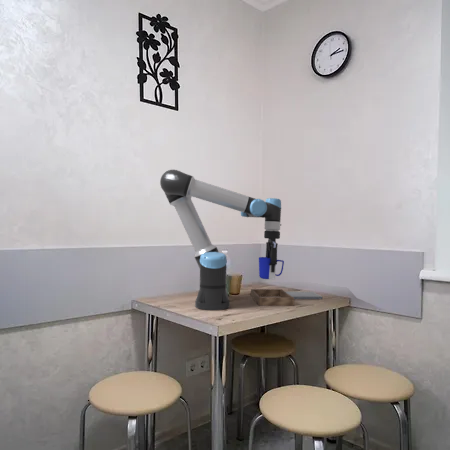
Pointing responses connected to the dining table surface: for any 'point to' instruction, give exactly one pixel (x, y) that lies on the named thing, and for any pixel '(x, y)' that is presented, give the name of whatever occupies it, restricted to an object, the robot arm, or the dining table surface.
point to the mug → (266, 267)
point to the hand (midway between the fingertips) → (270, 277)
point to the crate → (283, 301)
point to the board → (304, 295)
